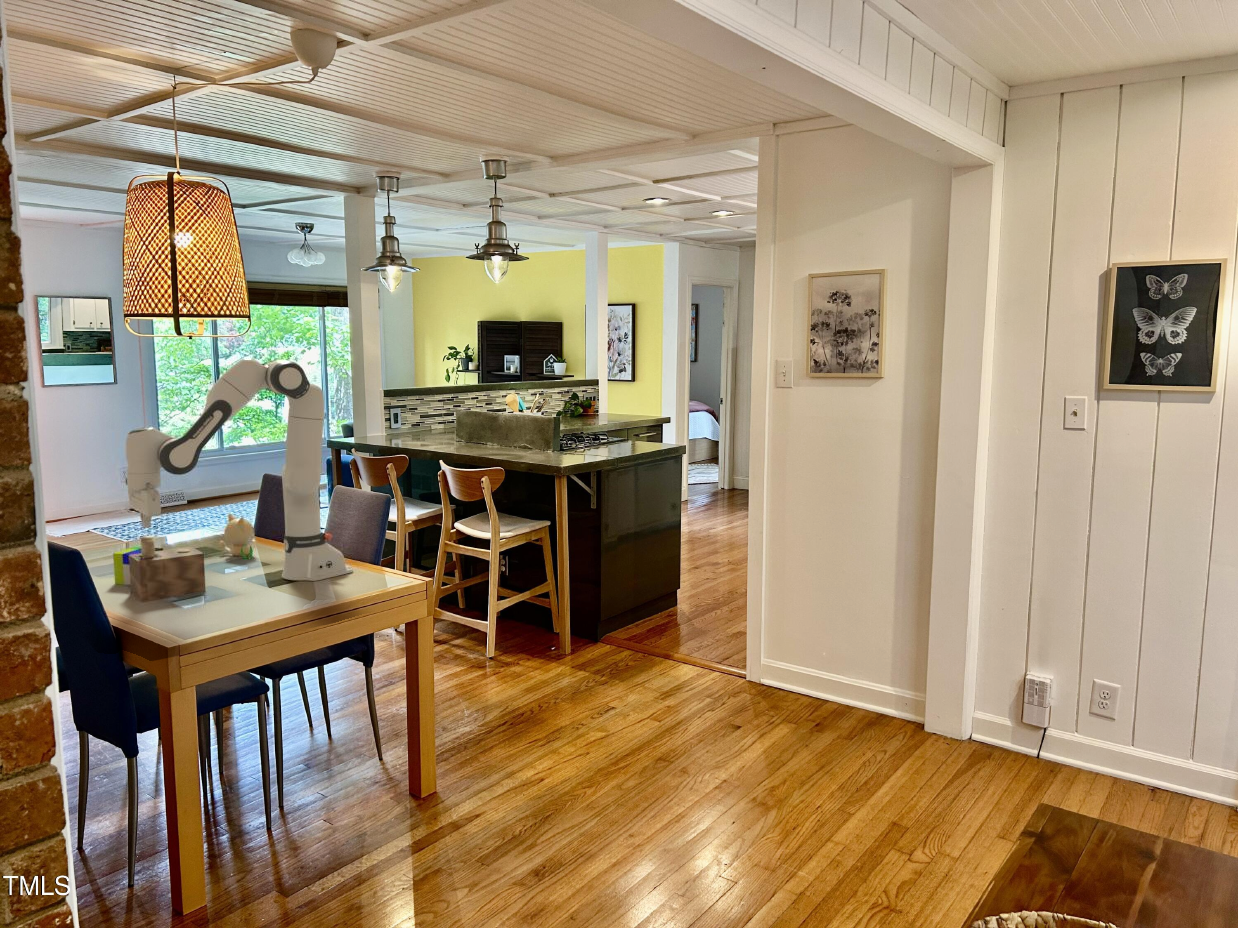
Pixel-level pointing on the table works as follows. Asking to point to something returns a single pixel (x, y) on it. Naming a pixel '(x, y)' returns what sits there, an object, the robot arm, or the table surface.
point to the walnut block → (167, 574)
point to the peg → (147, 547)
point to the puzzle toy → (125, 564)
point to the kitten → (238, 537)
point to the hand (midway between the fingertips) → (146, 526)
